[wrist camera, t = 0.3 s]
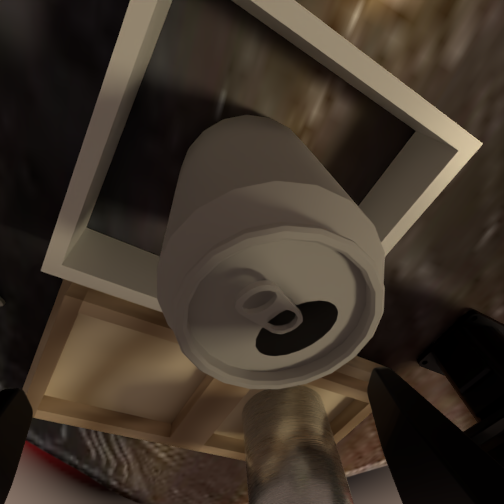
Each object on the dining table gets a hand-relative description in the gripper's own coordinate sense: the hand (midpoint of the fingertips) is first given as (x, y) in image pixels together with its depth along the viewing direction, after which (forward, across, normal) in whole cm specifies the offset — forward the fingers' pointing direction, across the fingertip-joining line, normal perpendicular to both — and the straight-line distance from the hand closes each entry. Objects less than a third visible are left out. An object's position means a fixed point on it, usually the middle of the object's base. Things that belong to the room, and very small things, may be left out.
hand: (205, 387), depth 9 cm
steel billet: (+12, -5, +19) cm, 23 cm away
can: (+14, -2, -1) cm, 14 cm away
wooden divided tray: (+13, 0, +16) cm, 21 cm away
